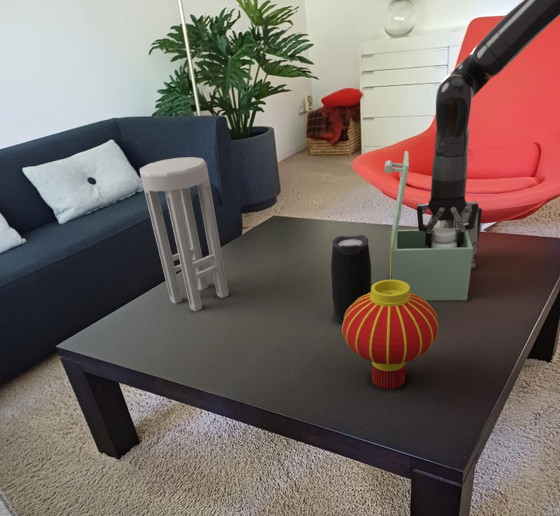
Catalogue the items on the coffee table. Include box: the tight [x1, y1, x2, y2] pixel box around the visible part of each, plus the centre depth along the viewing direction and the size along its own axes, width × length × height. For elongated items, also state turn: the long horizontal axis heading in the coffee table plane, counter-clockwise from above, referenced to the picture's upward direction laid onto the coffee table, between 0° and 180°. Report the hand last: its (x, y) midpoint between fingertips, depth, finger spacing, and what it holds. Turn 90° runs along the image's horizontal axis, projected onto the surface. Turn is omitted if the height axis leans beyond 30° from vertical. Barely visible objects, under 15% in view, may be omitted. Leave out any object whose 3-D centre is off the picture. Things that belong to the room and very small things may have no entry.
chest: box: [391, 228, 473, 301], centre depth 130 cm, size 18×14×13 cm
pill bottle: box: [431, 228, 457, 248], centre depth 128 cm, size 6×6×11 cm
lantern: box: [341, 231, 439, 390], centre depth 94 cm, size 17×17×30 cm
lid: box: [383, 150, 410, 250], centre depth 122 cm, size 19×14×5 cm
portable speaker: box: [330, 234, 372, 325], centre depth 119 cm, size 9×9×20 cm
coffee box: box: [438, 207, 483, 269], centre depth 139 cm, size 9×6×16 cm
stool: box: [139, 156, 230, 312], centre depth 132 cm, size 16×16×35 cm
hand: (443, 246), depth 126 cm, fingers closed on pill bottle, 6 cm apart
